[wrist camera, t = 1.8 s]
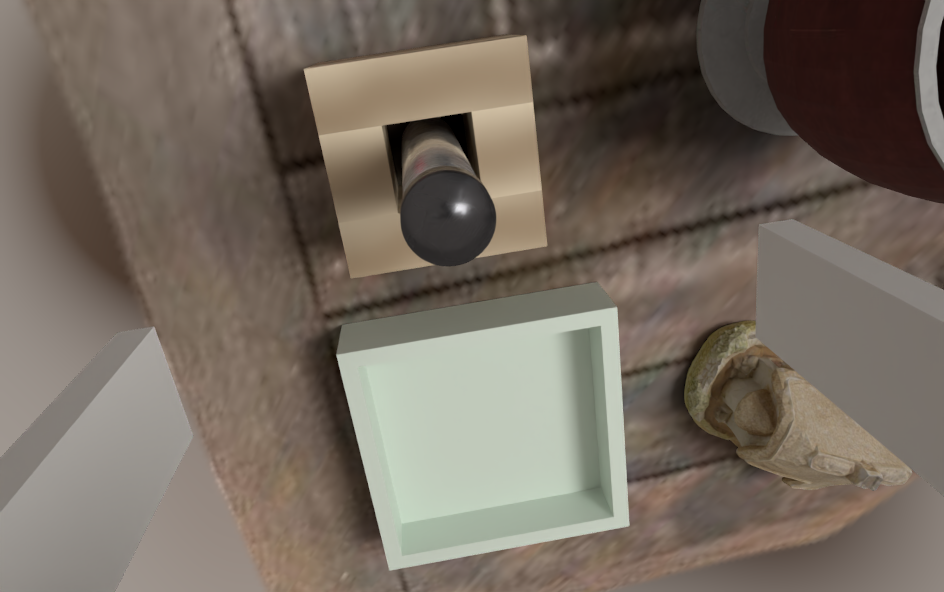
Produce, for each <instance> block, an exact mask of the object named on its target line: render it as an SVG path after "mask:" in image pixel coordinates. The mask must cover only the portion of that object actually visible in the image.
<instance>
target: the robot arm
mask: <svg viewBox="0 0 944 592" xmlns="http://www.w3.org/2000/svg"><path fill="white" fill-rule="evenodd" d="M755 337H756V338H757V339H758V340H759V341H761V342H762V343H763V344H764V345H765V346H767V347H768V348H769V349H770V350H771V351H772V352H774V353H775V354H776V355H777V356H778V357H780V358H781V359H782V360H783V361H784V362H785V363H787V364H788V365H789V366H790V367H791V368H793V369H794V370H795V371H796V372H797V373H798V374H800V375H801V376H802V377H803V378H804V379H806V380H807V381H808V382H809V383H810V384H811V385H813V386H814V387H815V388H816V389H817V390H819V391H820V392H821V393H822V394H823V395H824V396H826V397H827V398H828V399H829V400H830V401H832V402H833V403H834V404H835V405H836V406H837V407H839V408H840V409H841V410H842V411H843V412H845V413H846V414H847V415H848V416H849V417H850V418H852V419H853V420H854V421H855V422H856V423H858V424H859V425H860V426H861V427H862V428H863V429H865V430H866V431H867V432H868V433H869V434H871V435H872V436H873V437H874V438H875V439H876V440H878V441H879V442H880V443H881V444H882V445H884V446H885V447H886V448H887V449H888V450H889V451H891V452H892V453H893V454H894V455H895V456H897V457H898V458H899V459H900V460H901V461H902V462H904V463H905V464H906V465H907V466H908V467H910V468H911V469H912V470H913V471H914V472H915V473H917V474H918V475H919V476H920V477H921V478H923V479H924V480H925V481H926V482H927V483H929V484H930V485H931V486H932V487H933V488H934V489H936V490H937V491H938V492H939V493H940V494H941V495H943V496H944V290H943V289H941V288H938V287H936V286H934V285H932V284H930V283H928V282H926V281H924V280H921V279H919V278H917V277H915V276H913V275H911V274H909V273H906V272H904V271H902V270H900V269H898V268H896V267H894V266H892V265H889V264H887V263H885V262H883V261H881V260H879V259H877V258H875V257H872V256H870V255H868V254H866V253H864V252H862V251H860V250H857V249H855V248H853V247H851V246H849V245H847V244H845V243H843V242H840V241H838V240H836V239H834V238H832V237H830V236H828V235H825V234H823V233H821V232H819V231H817V230H815V229H813V228H811V227H808V226H806V225H804V224H802V223H800V222H798V221H796V220H794V219H790V220H784V221H778V222H772V223H766V224H760V225H759V237H758V269H757V300H756V331H755ZM192 438H193V433H192V430H191V428H190V425H189V422H188V419H187V417H186V414H185V411H184V408H183V405H182V403H181V400H180V397H179V394H178V392H177V389H176V386H175V383H174V380H173V378H172V375H171V372H170V369H169V367H168V364H167V361H166V358H165V355H164V353H163V350H162V347H161V344H160V342H159V339H158V336H157V333H156V331H155V328H154V327H148V328H142V329H136V330H130V331H124V332H119V333H116V334H115V335H114V336H113V338H112V339H111V340H110V341H109V342H108V343H107V344H106V345H105V346H104V347H103V348H102V350H100V352H99V353H98V354H97V355H96V356H95V357H94V358H93V359H92V360H91V361H90V362H89V363H88V364H87V365H86V366H85V368H84V369H83V370H82V371H81V372H80V373H79V374H78V375H77V376H76V377H75V378H74V379H73V380H72V381H71V383H70V384H69V385H68V386H67V387H66V388H65V389H64V390H63V391H62V392H61V393H60V394H59V395H58V397H57V398H56V399H55V400H54V401H53V402H52V403H51V404H50V405H49V406H48V407H47V408H46V410H44V412H43V413H42V414H41V415H40V416H39V417H38V418H37V419H36V420H35V421H34V422H33V423H32V424H31V426H30V427H29V428H28V429H27V430H26V431H25V432H24V433H23V434H22V435H21V436H20V437H19V438H18V439H17V440H16V442H15V443H14V444H13V445H12V446H11V447H10V448H9V449H8V450H7V451H6V452H5V453H4V455H2V457H1V458H0V592H115V591H116V589H117V587H118V585H119V583H120V581H121V579H122V577H123V575H124V573H125V571H126V569H127V567H128V565H129V563H130V561H131V559H132V557H133V555H134V553H135V551H136V549H137V547H138V545H139V543H140V541H141V539H142V537H143V535H144V533H145V531H146V529H147V527H148V525H149V523H150V521H151V519H152V517H153V515H154V513H155V511H156V509H157V507H158V505H159V504H160V502H161V500H162V498H163V496H164V493H165V492H166V490H167V488H168V486H169V484H170V482H171V480H172V478H173V476H174V474H175V472H176V470H177V468H178V466H179V464H180V462H181V460H182V458H183V456H184V454H185V452H186V450H187V448H188V446H189V444H190V442H191V440H192Z"/></svg>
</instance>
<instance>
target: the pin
mask: <svg viewBox="0 0 944 592" xmlns="http://www.w3.org/2000/svg"><path fill="white" fill-rule="evenodd" d="M402 184H403V198H402V201H401V207H400V223H401V230H402V234H403V237H404V239H405V241H406V243H407V245H408V246H409V247H410V249H411V250H412V251H413V252H414V253H415V254H416V255H417V256H419V257H420V258H421V259H423V260H425V261H427V262H429V263H431V264H435V265H439V266H456V265H461V264H464V263H467V262H469V261H471V260H473V259H474V258H476V257H477V256H479V255H480V254H481V253H482V252H483V251H484V250H485V249H486V247H487V246H488V245H489V243H490V241H491V239H492V237H493V235H494V232H495V228H496V210H495V206H494V203H493V201H492V199H491V197H490V195H489V193H488V191H487V189H486V188H485V186H484V185H483V183H482V182H481V181H480V180H479V179H478V178H477V177H476V175H475V173H474V171H473V169H472V167H471V165H470V163H469V161H468V159H467V158H466V156H465V154H464V152H463V150H462V148H461V146H460V144H459V142H458V140H457V139H456V137H455V135H454V133H453V131H452V129H451V128H450V126H449V125H448V124H447V123H446V122H445V121H444V120H442V119H440V118H438V117H434V118H428V119H421V120H415V121H412V122H410V123H409V124H408V126H407V127H406V128H405V130H404V132H403V135H402Z"/></svg>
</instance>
